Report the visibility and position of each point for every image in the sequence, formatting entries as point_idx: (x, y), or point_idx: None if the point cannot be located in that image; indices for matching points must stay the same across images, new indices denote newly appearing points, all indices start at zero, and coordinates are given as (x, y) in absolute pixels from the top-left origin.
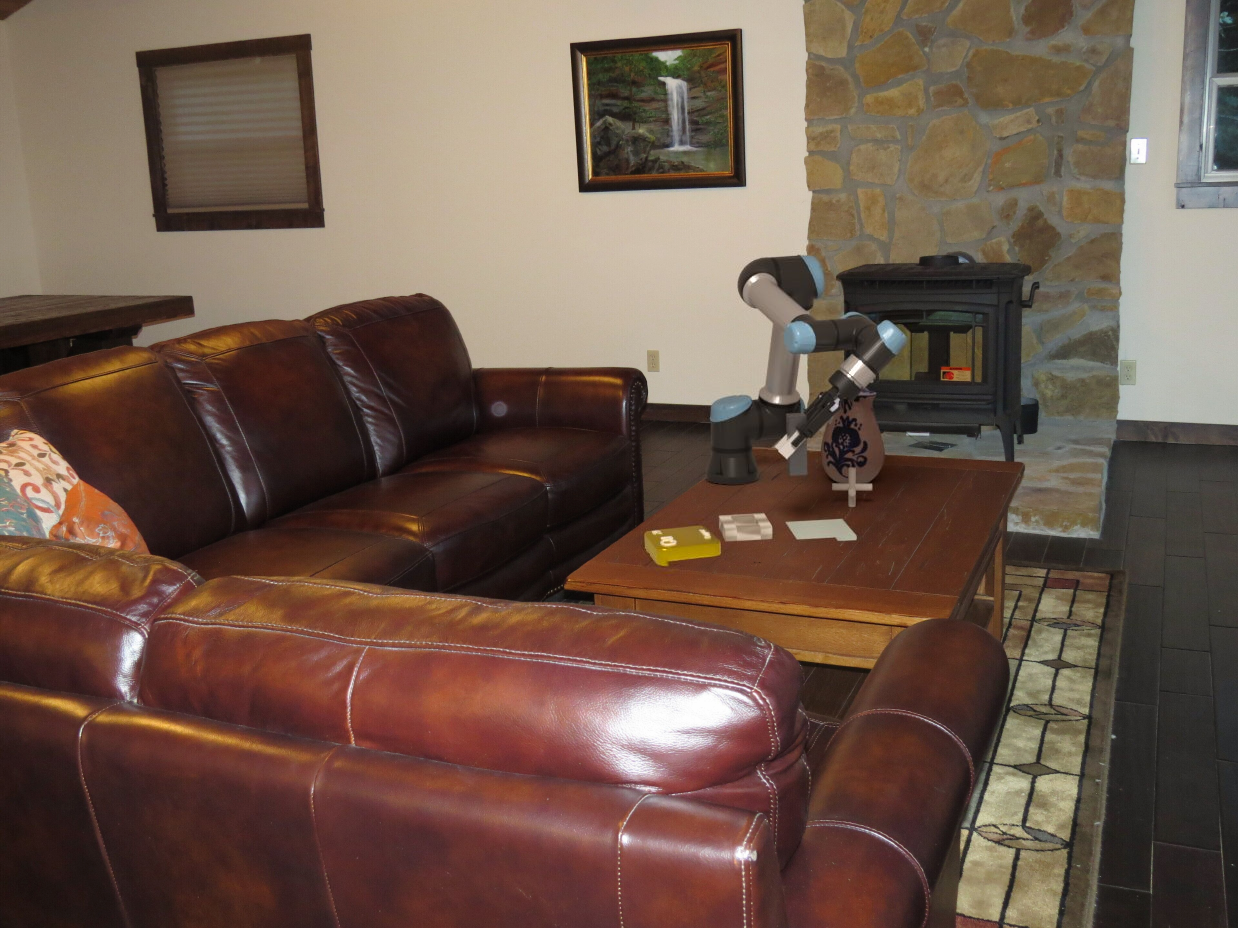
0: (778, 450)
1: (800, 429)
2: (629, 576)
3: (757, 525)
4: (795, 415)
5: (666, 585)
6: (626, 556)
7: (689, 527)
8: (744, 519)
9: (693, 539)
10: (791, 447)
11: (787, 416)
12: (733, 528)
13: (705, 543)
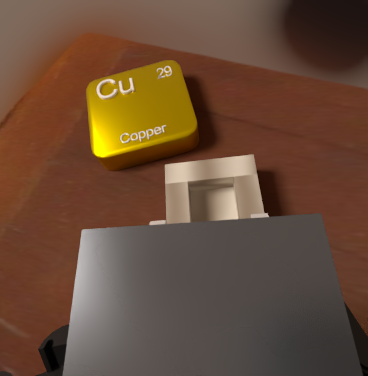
0: (163, 221)
1: (45, 358)
2: (69, 73)
3: (177, 222)
4: (155, 338)
5: (25, 111)
6: (143, 63)
7: (184, 111)
8: (237, 202)
9: (118, 119)
10: None
11: (214, 225)
12: (165, 178)
13: (94, 136)
